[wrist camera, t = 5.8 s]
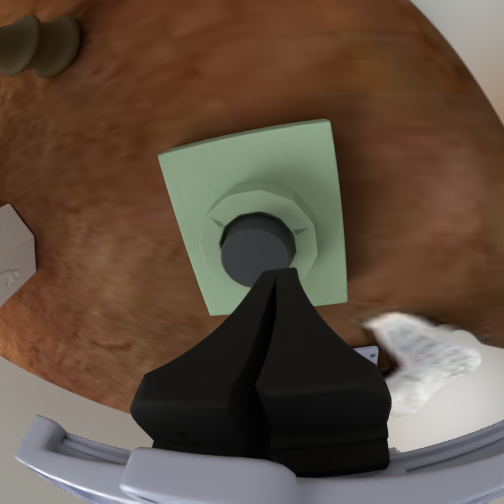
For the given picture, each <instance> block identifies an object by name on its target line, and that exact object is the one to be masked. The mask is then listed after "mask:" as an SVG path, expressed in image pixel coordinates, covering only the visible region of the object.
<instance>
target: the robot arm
mask: <svg viewBox="0 0 504 504" xmlns="http://www.w3.org/2000/svg"><path fill="white" fill-rule="evenodd" d="M377 360H378V347H377V346H368V347H361V348H354V349H353V348H352V347H350V346H349V345H348V344H347V343H346V342H345V341H344V340H342V339H341V338H340V337H339V336H338V335H337V334H336V333H335V332H334V331H333V330H332V329H331V328H330V327H329V326H328V325H327V323H326V322H325V321H324V320H323V319H322V317H321V316H320V315H319V314H318V312H317V311H316V309H315V308H314V306H313V305H312V303H311V302H310V300H309V299H308V297H307V295H306V293H305V291H304V289H303V287H302V285H301V283H300V280H299V276H298V270H297V269H296V268H295V267H291V268H283V269H275V270H267V271H263V272H262V273H261V275H260V276H259V277H258V279H257V280H256V282H255V283H254V285H253V286H252V288H251V289H250V291H249V292H248V293H247V295H246V296H245V297H244V299H243V300H242V301H241V303H240V304H239V305H238V306H237V308H236V309H235V310H234V311H233V312H232V313H231V315H230V316H229V317H228V318H227V319H226V320H225V321H224V322H223V323H222V324H221V325H220V326H219V327H218V328H217V329H216V330H215V331H213V332H212V333H211V334H210V335H209V336H207V337H206V338H205V339H203V340H202V341H201V342H200V343H198V344H197V345H196V346H194V347H193V348H192V349H190V350H189V351H187V352H186V353H184V354H183V355H181V356H179V357H178V358H176V359H174V360H173V361H171V362H169V363H167V364H165V365H163V366H161V367H159V368H157V369H155V370H153V371H151V372H149V373H147V374H145V375H144V377H143V379H142V381H141V383H140V385H139V388H138V390H137V392H136V394H135V397H134V399H133V401H132V404H131V407H130V412H131V415H132V417H133V418H134V420H135V421H136V423H137V424H138V425H139V426H140V427H141V428H142V429H143V430H144V431H145V432H146V433H147V434H148V435H149V436H150V437H151V438H152V439H153V440H154V442H153V445H152V448H147V447H139V448H136V449H135V450H133V451H129V450H125V449H121V448H117V447H113V446H109V445H105V444H102V443H98V442H95V441H91V440H88V439H85V438H82V437H79V436H76V435H73V434H70V433H67V432H66V431H65V430H64V429H63V428H62V427H61V426H60V425H59V424H58V423H56V422H55V421H53V420H51V419H48V418H46V417H43V416H40V415H36V417H35V418H34V420H33V422H32V424H31V426H30V427H29V429H28V431H27V433H26V435H25V437H24V438H23V440H22V442H21V444H20V446H19V448H18V450H17V452H16V454H15V458H16V459H17V460H19V461H20V462H22V463H23V464H24V465H25V466H27V467H28V468H30V469H31V470H32V471H34V472H35V473H36V474H38V475H39V476H41V477H42V478H44V479H45V480H47V481H48V482H50V483H51V484H53V485H55V486H57V487H58V488H61V489H62V490H64V491H66V492H68V493H70V494H72V495H74V496H77V497H78V498H80V499H83V500H85V501H87V502H89V503H91V504H487V503H489V502H491V501H493V500H495V499H497V498H499V497H501V496H503V495H504V420H502V421H500V422H498V423H495V424H493V425H491V426H488V427H486V428H483V429H480V430H478V431H475V432H472V433H470V434H467V435H464V436H461V437H458V438H455V439H452V440H449V441H445V442H442V443H439V444H435V445H432V446H428V447H424V448H420V449H416V450H412V451H408V452H403V453H402V452H400V451H398V450H397V449H396V448H395V447H393V448H389V449H388V441H387V438H388V429H387V421H388V418H389V414H390V410H391V407H392V400H391V395H390V392H389V389H388V387H387V384H386V382H385V380H384V378H383V376H382V374H381V372H380V371H379V369H378V367H377Z"/></svg>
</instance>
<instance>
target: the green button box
mask: <svg viewBox="0 0 504 504" xmlns="http://www.w3.org/2000/svg"><path fill="white" fill-rule="evenodd" d="M158 158H159V162H160V165H161V169H162V172H163V176H164V179H165V182H166V186H167V189H168V192H169V196H170V199H171V202H172V205H173V209H174V212H175V215H176V218H177V221H178V224H179V227H180V231H181V234H182V237H183V240H184V243H185V246H186V249H187V252H188V255H189V258H190V260H191V263H192V266H193V269H194V272H195V275H196V278H197V281H198V283H199V286H200V289H201V292H202V295H203V297H204V300H205V303H206V305H207V308H208V311H209V314H210V315H225V314H231V313H232V312H233V311H234V310H235V309H236V308H237V306H238V305H239V304H240V303H241V301H242V300H243V299H244V297H245V296H246V295H247V293H248V292H249V291H250V289H251V288H249V287H245V286H243V285H240V284H238V283H237V282H235V281H234V280H233V279H231V278H230V277H229V276H228V274H227V273H226V272H225V270H224V268H223V265H222V262H221V250H222V247H223V244H224V242H225V240H226V237H227V235H228V233H229V231H230V229H231V227H232V226H233V225H234V224H235V223H236V222H237V221H239V220H241V219H243V218H245V217H248V216H254V215H260V216H266V217H269V218H272V219H274V220H275V221H277V222H278V223H280V224H281V225H282V226H283V227H284V229H285V230H286V231H287V233H288V235H289V238H290V244H291V250H290V266H289V268H291V267H295V268H296V269H297V270H298V276H299V280H300V283H301V285H302V287H303V289H304V291H305V293H306V295H307V297H308V299H309V300H310V302H311V303H312V305H313V306H320V305H328V304H336V303H344V302H347V301H348V292H347V270H346V253H345V238H344V226H343V215H342V204H341V195H340V186H339V177H338V169H337V162H336V154H335V147H334V141H333V134H332V128H331V122H330V121H328V120H327V119H317V120H309V121H302V122H295V123H288V124H282V125H276V126H270V127H264V128H259V129H254V130H248V131H243V132H238V133H233V134H229V135H224V136H220V137H215V138H211V139H207V140H202V141H198V142H194V143H190V144H186V145H182V146H179V147H175V148H171V149H169V150H167V151H165V152H163V153H161V154H159V155H158Z"/></svg>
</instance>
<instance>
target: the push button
mask: <svg viewBox="0 0 504 504" xmlns="http://www.w3.org/2000/svg"><path fill="white" fill-rule="evenodd" d="M290 250H291V244H290V238H289V235H288V233H287V231H286V230H285V229H284V227H283V226H282V225H281V224H280V223H278V222H277V221H275V220H274V219H272V218H269V217H266V216H260V215H254V216H248V217H245V218H243V219H241V220H239V221H237V222H236V223H235V224H234V225H233V226H232V227H231V229H230V231H229V233H228V235H227V237H226V240H225V242H224V244H223V247H222V250H221V262H222V265H223V268H224V270H225V272H226V273H227V274H228V276H229V277H230V278H231V279H233V280H234V281H235V282H237V283H238V284H240V285H243V286H245V287H249V288H252V286H253V285H254V283H255V282H256V280H257V279H258V277H259V276H260V275H261V273H262V272H263V271H267V270H275V269H283V268H289V266H290Z"/></svg>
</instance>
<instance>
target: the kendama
mask: <svg viewBox="0 0 504 504" xmlns="http://www.w3.org/2000/svg"><path fill="white" fill-rule="evenodd" d="M79 45H80V29H79V26H78V22H77V21H76V20H75V19H74V18H73V17H72V16H66V15H61V16H58V17H56V18H54V19H52V20H50V21H48V22H40V21H39V19H38V18H37V17H36V16H35V15H34V14H32V15H24V16H23V17H21V18H19V19H18V20H16V21H15V22H14V23H13V24H11V25H8V26H4V27H0V72H1V73H2V74H3V75H4V76H10V77H13V76H15V75H17V74H19V73H21V72H23V71H24V70H25V69H33V70H34V71H35V73H36V74H37V75H38V76H39V77H45V78H49V77H52V76H55V75H58V74H59V73H61V72H62V71H63V70H65V69H66V68H67V67H68V66H69V65H70V63H71V62H72V61H73V59H74V58H75V56H76V53H77V50H78V47H79Z"/></svg>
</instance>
